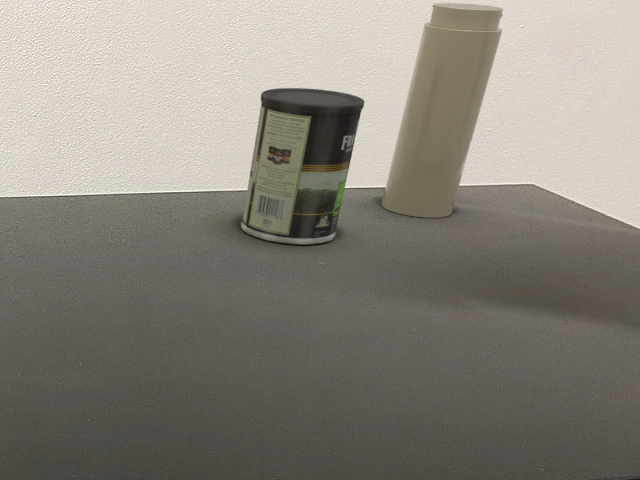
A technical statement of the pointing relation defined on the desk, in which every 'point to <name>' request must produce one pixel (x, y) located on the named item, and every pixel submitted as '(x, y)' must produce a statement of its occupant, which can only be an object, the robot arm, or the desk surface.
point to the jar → (442, 109)
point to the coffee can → (300, 164)
